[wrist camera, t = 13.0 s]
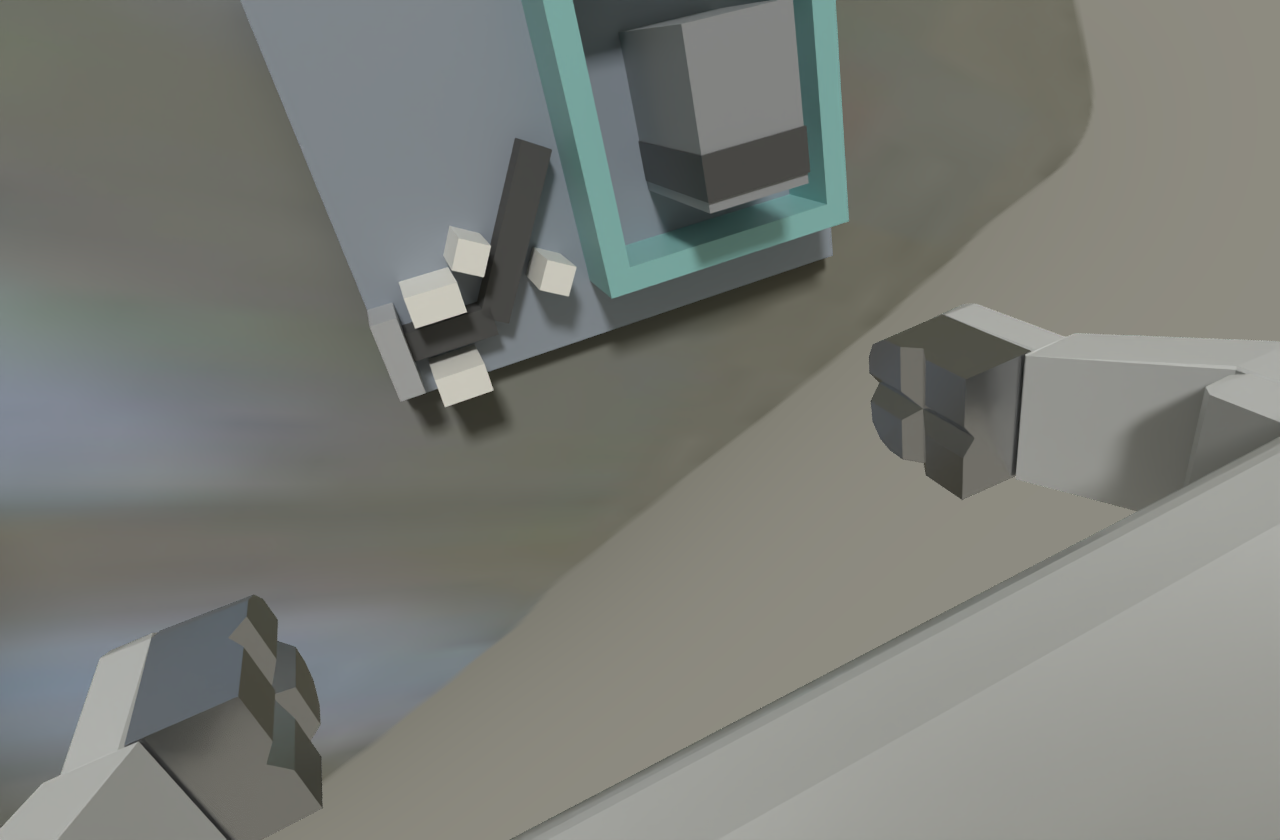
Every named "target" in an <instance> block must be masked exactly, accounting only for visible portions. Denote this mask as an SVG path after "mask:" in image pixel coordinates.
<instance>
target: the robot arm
mask: <svg viewBox="0 0 1280 840" xmlns="http://www.w3.org/2000/svg"><path fill="white" fill-rule="evenodd" d="M869 371H870V374H871V375H872V376H873V377H874V378H875V379H876V380H877V381H878V382H879V385H878V387H877V389H876V391H875V393H874V395H873V397H872V400H871V408H872V419H873V423H874V426H875V428H876V430H877V432H878V434H879V437H880V439H881V440H882V441H883V443H884V444H885V445H886V446H887V447H888V448H889V450H890V451H892V452H893V453H895V454H896V455H897V456H899V457H900V458H902V459H903V460H909V461H915V462H921V463H924V468H925V473H926V476H928V477H929V478H931V479H932V480H934V481H935V482H937V483H938V484H940V485H941V486H942V487H944V488H945V489H947V490H948V491H950V492H951V493H953V494H954V495H956V496H957V497H959V498H960V499H962V500H963V499H965V498H967V497H970V496H972V495H974V494H976V493H979V492H981V491H983V490H985V489H987V488H990V487H992V486H994V485H997V484H999V483H1001V482H1003V481H1006V480H1008V479H1010V478H1012V477H1015V476H1016V479H1017V480H1021V481H1024V482H1029V483H1032V484H1036V485H1040V486H1044V487H1048V488H1051V489H1055V490H1059V491H1062V492H1066V493H1070V494H1074V495H1077V496H1081V497H1085V498H1089V499H1093V500H1097V501H1100V502H1104V503H1108V504H1112V505H1115V506H1119V507H1123V508H1127V509H1130V510H1135V511H1137V512H1135V513H1133V514H1131V515H1129V516H1128V517H1126V518H1124V519H1122V520H1120V521H1118V522H1116V523H1114V524H1112V525H1110V526H1109V527H1107V528H1105V529H1103V530H1101V531H1099V532H1097V533H1095V534H1093V535H1091V536H1089V537H1088V538H1086V539H1084V540H1082V541H1080V542H1078V543H1076V544H1074V545H1072V546H1070V547H1068V548H1067V549H1065V550H1063V551H1061V552H1059V553H1057V554H1055V555H1053V556H1051V557H1049V558H1047V559H1045V560H1044V561H1042V562H1039V563H1038V564H1036V565H1034V566H1032V567H1030V568H1028V569H1026V570H1024V571H1022V572H1020V573H1018V574H1017V575H1015V576H1013V577H1011V578H1009V579H1007V580H1005V581H1003V582H1001V583H999V584H997V585H995V586H993V587H991V588H990V589H988V590H986V591H984V592H982V593H980V594H978V595H976V596H974V597H972V598H971V599H969V600H967V601H965V602H963V603H961V604H959V605H957V606H955V607H953V608H951V609H949V610H947V611H945V612H944V613H942V614H940V615H938V616H936V617H934V618H932V619H930V620H929V621H926V622H924V623H922V624H920V625H919V626H917V627H915V628H913V629H911V630H909V631H907V632H905V633H903V634H901V635H899V636H898V637H896V638H894V639H892V640H890V641H888V642H886V643H884V644H882V645H880V646H878V647H877V648H875V649H873V650H871V651H869V652H867V653H865V654H863V655H861V656H859V657H858V658H856V659H854V660H852V661H850V662H848V663H846V664H844V665H842V666H840V667H838V668H836V669H835V670H833V671H831V672H829V673H827V674H825V675H823V676H821V677H819V678H817V679H816V680H814V681H812V682H810V683H808V684H806V685H804V686H802V687H800V688H798V689H796V690H795V691H793V692H791V693H789V694H787V695H785V696H783V697H781V698H779V699H777V700H775V701H774V702H772V703H770V704H768V705H766V706H764V707H762V708H760V709H758V710H756V711H754V712H752V713H751V714H749V715H747V716H745V717H743V718H741V719H739V720H737V721H736V722H733V723H732V724H730V725H728V726H726V727H724V728H722V729H720V730H718V731H716V732H714V733H712V734H710V735H709V736H707V737H705V738H703V739H701V740H699V741H697V742H695V743H693V744H692V745H690V746H688V747H686V748H684V749H682V750H680V751H678V752H676V753H674V754H672V755H670V756H668V757H667V758H665V759H663V760H661V761H659V762H657V763H655V764H653V765H651V766H649V767H648V768H646V769H644V770H642V771H640V772H638V773H636V774H634V775H632V776H631V777H628V778H627V779H625V780H623V781H621V782H619V783H617V784H615V785H613V786H611V787H609V788H607V789H605V790H604V791H602V792H600V793H598V794H596V795H594V796H592V797H590V798H588V799H586V800H584V801H583V802H581V803H579V804H577V805H575V806H573V807H571V808H569V809H567V810H565V811H563V812H562V813H560V814H558V815H556V816H554V817H552V818H550V819H548V820H546V821H544V822H542V823H541V824H539V825H537V826H535V827H533V828H531V829H529V830H527V831H525V832H523V833H522V834H520V835H518V836H516V837H514V838H512V839H510V840H1280V341H1259V340H1233V339H1208V338H1183V337H1182V338H1181V337H1158V336H1157V337H1156V336H1132V335H1106V334H1080V333H1074V334H1072V335H1070V336H1067V337H1064V336H1062V335H1059V334H1056V333H1053V332H1051V331H1048V330H1045V329H1042V328H1040V327H1037V326H1035V325H1032V324H1029V323H1027V322H1024V321H1021V320H1019V319H1016V318H1013V317H1011V316H1008V315H1005V314H1003V313H1000V312H997V311H994V310H992V309H989V308H986V307H984V306H981V305H978V304H963V305H960V306H958V307H956V308H954V309H951V310H949V311H947V312H945V313H943V314H940V315H938V316H936V317H934V318H933V319H930V320H928V321H926V322H923V323H921V324H919V325H916V326H914V327H912V328H910V329H907V330H905V331H903V332H900V333H898V334H896V335H893V336H891V337H889V338H887V339H884V340H882V341H879V342H877V343H875V344H873V346H872V349H871V352H870V355H869ZM277 627H278V619H277V618H276V617H275V615H274V614H273V612H272V611H271V610H270V608H269V607H268V605H267V604H266V603H265V601H264V600H263V599H262V598H260V597H258V596H256V595H251V596H249V597H246V598H243V599H241V600H238V601H236V602H233V603H230V604H228V605H225V606H223V607H220V608H217V609H215V610H212V611H210V612H207V613H204V614H202V615H199V616H197V617H194V618H191V619H189V620H186V621H184V622H181V623H178V624H176V625H173V626H171V627H168V628H165V629H163V630H160V631H159V632H158V633H152V634H149V635H147V636H144V637H142V638H140V639H137V640H135V641H132V642H130V643H128V644H125V645H123V646H120V647H118V648H116V649H113V650H111V651H109V652H108V653H107V654H105V655H104V656H103V657H101V658H100V660H99V662H98V665H97V668H96V671H95V674H94V677H93V679H92V682H91V685H90V688H89V691H88V694H87V697H86V700H85V703H84V706H83V709H82V712H81V715H80V718H79V721H78V724H77V727H76V730H75V733H74V736H73V739H72V742H71V744H70V747H69V750H68V753H67V756H66V759H65V762H64V765H63V768H62V771H61V774H60V776H58V777H56V778H53V779H51V780H49V781H47V782H44V783H42V784H41V785H40V787H39V788H38V789H37V790H36V791H35V792H34V793H33V794H32V795H31V796H30V797H29V798H28V799H27V801H26V802H25V803H24V804H23V805H22V806H21V807H20V808H19V809H18V810H17V811H16V812H15V813H14V814H13V816H12V817H11V818H10V819H9V820H8V821H7V822H6V823H5V824H4V825H3V826H2V827H1V828H0V840H262V839H264V838H265V837H267V836H270V835H272V834H274V833H275V832H277V831H279V830H281V829H283V828H285V827H287V826H289V825H291V824H293V823H295V822H297V821H299V820H301V819H303V818H305V817H307V816H309V815H311V814H312V813H314V812H316V811H318V810H320V809H322V808H323V805H322V757H321V755H320V754H319V752H318V751H317V750H316V748H315V747H314V745H313V744H312V742H311V740H312V738H313V736H314V735H315V733H316V731H317V730H318V728H319V726H320V725H321V723H320V704H319V700H318V696H317V692H316V689H315V685H314V681H313V678H312V676H311V674H310V672H309V670H308V667H307V665H306V663H305V661H304V660H303V658H302V656H301V655H300V653H299V652H298V650H297V649H296V647H294V646H291V645H288V644H285V643H282V642H279V641H277Z"/></svg>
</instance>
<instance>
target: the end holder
mask: <svg viewBox="0 0 1280 840" xmlns="http://www.w3.org/2000/svg"><path fill="white" fill-rule="evenodd" d="M521 2H522V6H523V10H524V14H525V18H526V23H527V27H528V31H529V35H530V39H531V43H532V47H533V51H534V55H535V59H536V63H537V67H538V72H539V76H540V80H541V84H542V88H543V92H544V96H545V100H546V104H547V108H548V112H549V116H550V120H551V125H552V129H553V133H554V137H555V141H556V145H557V149H558V153H559V157H560V161H561V165H562V169H563V174H564V178H565V182H566V186H567V190H568V194H569V198H570V202H571V206H572V210H573V214H574V218H575V223H576V227H577V231H578V235H579V239H580V243H581V247H582V251H583V255H584V259H585V263H586V267H587V272H588V276H589V280H590V281H591V282H592V283H593V284H595V285H596V286H597V287H598V288H599V289H601V290H602V291H603V292H604V293H606V294H607V295H608V296H609V297H610V298H612V299H613V298H616V297H619V296H622V295H625V294H628V293H631V292H634V291H637V290H640V289H643V288H646V287H649V286H653V285H656V284H659V283H662V282H665V281H668V280H671V279H674V278H677V277H680V276H683V275H686V274H689V273H692V272H695V271H698V270H701V269H704V268H707V267H711V266H714V265H717V264H720V263H723V262H726V261H729V260H732V259H735V258H738V257H741V256H744V255H747V254H750V253H753V252H756V251H759V250H762V249H765V248H769V247H772V246H775V245H778V244H781V243H784V242H787V241H790V240H793V239H796V238H799V237H802V236H805V235H808V234H811V233H814V232H817V231H820V230H823V229H827V228H830V227H833V226H836V225H839V224H842V223H845V222H848V221H849V216H848V199H847V182H846V166H845V149H844V133H843V116H842V99H841V83H840V66H839V49H838V33H837V16H836V0H793V7H794V19H795V30H796V42H797V54H798V65H799V77H800V89H801V100H802V112H803V124H804V125H806V126H807V138H808V150H809V162H810V172H809V173H808V182H809V183H808V184H804V185H801V186H798V187H795V188H792V189H789V193H790V194H788V195H785V196H782V197H779V198H776V199H772V200H769V201H766V202H763V203H760V204H756V205H753V206H750V207H747V208H744V209H740V210H737V211H734V212H731V213H728V214H724V215H721V216H718V217H715V218H711V219H708V220H705V221H702V222H699V223H695V224H692V225H689V226H686V227H683V228H679V229H676V230H673V231H670V232H667V233H663V234H660V235H657V236H654V237H651V238H647V239H644V240H641V241H638V242H634V243H631V244H628V245H625V242H624V237H623V232H622V228H621V223H620V218H619V214H618V209H617V204H616V200H615V195H614V191H613V186H612V181H611V177H610V172H609V167H608V163H607V158H606V153H605V149H604V144H603V139H602V135H601V130H600V125H599V121H598V116H597V111H596V107H595V102H594V97H593V93H592V88H591V83H590V79H589V74H588V69H587V65H586V60H585V55H584V51H583V46H582V41H581V37H580V32H579V27H578V23H577V18H576V14H575V9H574V4H573V0H521Z"/></svg>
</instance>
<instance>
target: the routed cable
mask: <svg viewBox="0 0 1280 840" xmlns="http://www.w3.org/2000/svg"><path fill="white" fill-rule="evenodd" d="M551 153H552V149H549V148H546V147H544V146H540V145H537V144H534V143H531V142H528V141H525V140H521V139H518V138H515V140H514V144H513V149H512V153H511V157H510V161H509V166H508V170H507V174H506V179H505V183H504V187H503V192H502V196H501V200H500V204H499V209H498V213H497V217H496V222H495V226H494V230H493V235H492V239H491V243H490V245H491V248H490V253H489V257H488V262H487V266H486V270H485V275H484V277H482V282H481V286H480V290H479V295H478V299H477V302H474V303H471V304H468V305H465V308H466V310H467V312H466V313H463V314H460V315H457V316H454V317H450V318H447V319H444V320H441V321H438V322H435V323H432V324H428V325H425V326H422V327H419V328H416V329H415V327H414V324H413V322H411V323H407V324H404V325H401V326H402V329H403V333H404V336H405V339H406V341H407V344H408V346H409V349H410V352H411V354H412V357H413V359H414V362H416V361H419V360H422V359H425V358H428V357H431V356H434V355H437V354H440V353H443V352H446V351H449V350H452V349H455V348H459V347H462V346H465V345H468V344H471V343H474V342H477V341H480V340H483V339H486V338H489V337H492V336H495V335H498V334H499V333H498V330H497V327H496V323H495V321H499V322H504V323H509V322H510V318H511V314H512V309H513V305H514V301H515V297H516V293H517V289H518V285H519V281H520V277H521V273H522V269H523V265H524V261H525V257H526V253H527V249H528V245H529V241H530V237H531V233H532V229H533V225H534V221H535V217H536V213H537V209H538V205H539V201H540V197H541V193H542V189H543V185H544V181H545V177H546V173H547V169H548V165H549V161H550V157H551Z"/></svg>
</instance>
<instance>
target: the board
mask: <svg viewBox="0 0 1280 840" xmlns="http://www.w3.org/2000/svg"><path fill="white" fill-rule="evenodd" d="M240 1H241V3H242V6H243V8H244V11H245V13H246V16H247V18H248V20H249V23H250V25H251V28H252V30H253V33H254V35H255V37H256V40H257V42H258V45H259V47H260V50H261V52H262V55H263V57H264V59H265V62H266V64H267V67H268V69H269V72H270V74H271V77H272V79H273V81H274V84H275V86H276V89H277V91H278V94H279V96H280V98H281V101H282V103H283V106H284V108H285V111H286V113H287V116H288V118H289V120H290V123H291V125H292V128H293V130H294V133H295V135H296V137H297V140H298V142H299V145H300V147H301V150H302V152H303V155H304V157H305V159H306V162H307V164H308V167H309V169H310V172H311V174H312V176H313V179H314V181H315V184H316V186H317V189H318V191H319V194H320V196H321V198H322V201H323V203H324V206H325V208H326V211H327V213H328V216H329V218H330V220H331V223H332V225H333V228H334V230H335V233H336V235H337V237H338V240H339V242H340V245H341V247H342V250H343V252H344V255H345V257H346V259H347V262H348V264H349V267H350V269H351V272H352V274H353V276H354V279H355V281H356V284H357V286H358V289H359V291H360V294H361V296H362V298H363V301H364V303H365V306H366V308H367V312H368V319H369V326H370V329H371V331H372V334H373V336H374V339H375V341H376V343H377V346H378V348H379V351H380V353H381V355H382V358H383V360H384V363H385V365H386V368H387V370H388V372H389V375H390V377H391V380H392V382H393V384H394V387H395V389H396V392H397V394H398V397H399V399H400V401H404V400H407V399H410V398H413V397H416V396H419V395H422V394H425V393H427V392H430V391H433V390H436V389H438V390H439V393H440V395H441V398H442V401H443V403H444V406H445V407H447V406H450V405H453V404H456V403H459V402H462V401H464V400H467V399H470V398H473V397H476V396H479V395H482V394H485V393H488V392H491V391H494V390H493V387H492V384H491V381H490V378H489V375H488V372H489V371H492V370H495V369H498V368H501V367H504V366H507V365H510V364H513V363H516V362H519V361H522V360H525V359H528V358H530V357H533V356H536V355H539V354H542V353H545V352H548V351H551V350H554V349H557V348H560V347H563V346H566V345H569V344H572V343H575V342H578V341H581V340H584V339H587V338H590V337H593V336H596V335H599V334H602V333H605V332H607V331H610V330H613V329H616V328H619V327H622V326H625V325H628V324H631V323H634V322H637V321H640V320H643V319H646V318H649V317H652V316H655V315H658V314H661V313H664V312H667V311H670V310H673V309H676V308H679V307H682V306H684V305H687V304H690V303H693V302H696V301H699V300H702V299H705V298H708V297H711V296H714V295H717V294H720V293H723V292H726V291H729V290H732V289H735V288H738V287H741V286H744V285H747V284H750V283H753V282H756V281H759V280H761V279H764V278H767V277H770V276H773V275H776V274H779V273H782V272H785V271H788V270H791V269H794V268H797V267H800V266H803V265H806V264H809V263H812V262H815V261H818V260H821V259H824V258H827V257H830V256H833V252H832V238H831V227H830V228H827V229H823V230H820V231H817V232H814V233H811V234H808V235H805V236H802V237H799V238H796V239H793V240H790V241H787V242H784V243H781V244H778V245H775V246H772V247H769V248H765V249H762V250H759V251H756V252H753V253H750V254H747V255H744V256H741V257H738V258H735V259H732V260H729V261H726V262H723V263H720V264H717V265H714V266H711V267H707V268H704V269H701V270H698V271H695V272H692V273H689V274H686V275H683V276H680V277H677V278H674V279H671V280H668V281H665V282H662V283H659V284H656V285H653V286H649V287H646V288H643V289H640V290H637V291H634V292H631V293H628V294H625V295H622V296H619V297H616V298H613V299H612V298H610V297H609V296H608V295H607V294H606V293H604V292H603V291H602V290H601V289H599V288H598V287H597V286H596V285H595V284H593V283H592V282H591V281H590V280H589V276H588V272H587V267H586V263H585V259H584V255H583V251H582V247H581V243H580V239H579V235H578V231H577V227H576V223H575V218H574V214H573V210H572V206H571V202H570V198H569V194H568V190H567V186H566V182H565V178H564V174H563V169H562V165H561V161H560V157H559V153H558V149H557V145H556V141H555V137H554V133H553V129H552V125H551V120H550V116H549V112H548V108H547V104H546V100H545V96H544V92H543V88H542V84H541V80H540V76H539V72H538V67H537V63H536V59H535V55H534V51H533V47H532V43H531V39H530V35H529V31H528V27H527V23H526V18H525V14H524V10H523V6H522V2H521V0H240ZM763 1H769V0H573V4H574V9H575V14H576V18H577V23H578V27H579V32H580V37H581V41H582V46H583V51H584V55H585V60H586V65H587V69H588V74H589V79H590V83H591V88H592V93H593V97H594V102H595V107H596V111H597V116H598V121H599V125H600V130H601V135H602V139H603V144H604V149H605V153H606V158H607V163H608V167H609V172H610V177H611V181H612V186H613V191H614V195H615V200H616V204H617V209H618V214H619V218H620V223H621V228H622V232H623V237H624V242H625V245H628V244H631V243H634V242H638V241H641V240H644V239H647V238H651V237H654V236H657V235H660V234H663V233H667V232H670V231H673V230H676V229H679V228H683V227H686V226H689V225H692V224H695V223H699V222H702V221H705V220H708V219H711V218H715V217H718V216H721V215H724V214H728V213H731V212H734V211H737V210H740V209H744V208H747V207H750V206H753V205H756V204H760V203H763V202H766V201H769V200H772V199H776V198H779V197H782V196H785V195H788V194H790V193H789V189H788V190H785V191H782V192H779V193H776V194H772V195H769V196H766V197H763V198H759V199H756V200H753V201H750V202H747V203H743V204H740V205H737V206H734V207H730V208H727V209H724V210H721V211H718V212H714V213H711V214H710V213H707V212H705V211H702V210H699V209H697V208H694V207H692V206H689V205H686V204H684V203H681V202H678V201H676V200H673V199H671V198H668V197H665V196H663V195H660V194H658V193H655V192H652V191H650V190H649V189H648V184H647V181H646V180H645V174H644V169H643V164H642V159H641V154H640V148H639V143H638V141H639V137H638V132H637V127H636V121H635V116H634V111H633V106H632V101H631V95H630V90H629V85H628V80H627V74H626V69H625V64H624V59H623V54H622V48H621V43H620V38H619V33H618V32H621V31H626V30H630V29H634V28H638V27H642V26H646V25H650V24H654V23H658V22H663V21H667V20H671V19H675V18H679V17H683V16H687V15H691V14H696V13H700V12H704V11H708V10H712V9H718V8H725V7H731V6H737V5H744V4H750V3H756V2H763ZM515 138H518V139H521V140H525V141H528V142H531V143H534V144H537V145H540V146H544V147H546V148H549V149H552V153H551V157H550V161H549V165H548V169H547V173H546V177H545V181H544V185H543V189H542V193H541V197H540V201H539V205H538V209H537V213H536V217H535V221H534V225H533V229H532V233H531V237H530V241H529V245H528V249H527V253H526V257H525V261H524V265H523V269H522V273H521V277H520V281H519V285H518V289H517V293H516V297H515V301H514V305H513V309H512V314H511V318H510V322H509V323H504V322H499V321H495V323H496V327H497V330H498V333H499V334H498V335H495V336H492V337H489V338H486V339H483V340H480V341H477V342H474V343H471V344H468V345H465V346H462V347H459V348H455V349H452V350H449V351H446V352H443V353H440V354H437V355H434V356H431V357H428V358H425V359H422V360H419V361H416V362H414V359H413V357H412V354H411V352H410V349H409V346H408V344H407V341H406V339H405V336H404V333H403V329H402V326H401V325H404V324H407V323H411V322H413V324H414V327H415V329H416V328H419V327H422V326H425V325H428V324H432V323H435V322H438V321H441V320H444V319H447V318H450V317H454V316H457V315H460V314H463V313H466V312H467V310H466V308H465V305H468V304H471V303H474V302H477V299H478V295H479V290H480V286H481V282H482V277H484V275H485V270H486V266H487V262H488V257H489V253H490V248H491V245H490V243H491V239H492V235H493V230H494V226H495V222H496V217H497V213H498V209H499V204H500V200H501V196H502V192H503V187H504V183H505V179H506V174H507V170H508V166H509V161H510V157H511V153H512V149H513V144H514V140H515Z"/></svg>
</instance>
